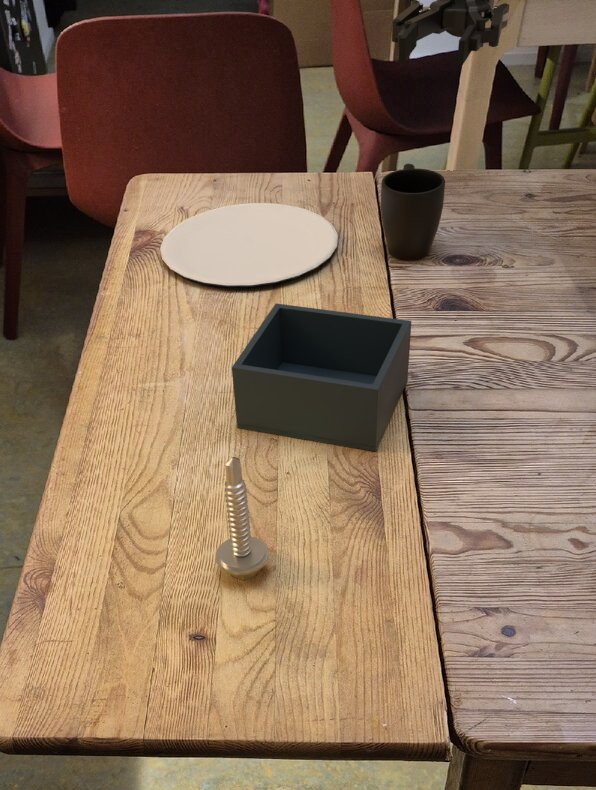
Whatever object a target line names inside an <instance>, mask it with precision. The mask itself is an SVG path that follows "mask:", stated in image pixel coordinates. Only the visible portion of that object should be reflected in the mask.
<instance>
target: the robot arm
mask: <svg viewBox="0 0 596 790" xmlns="http://www.w3.org/2000/svg"><path fill="white" fill-rule="evenodd" d="M500 1H501V0H434V1H432V2H431V3H430V4H429V6H424V3H422V2H420V1H419V0H411V1H410V5H409V6H408V7H407V8H406V9H404V10H403V11H402V12H401V13H399V14H398V15H397V16H396V17H395V18H393V19H392V23H391V24H392V25H391V42H393V43H397V48H398V62H399V63H406V61H407V59H408V58H409V57H410V55H411V54H413V51H414V50H415V49H416V47H417V45H418V43H417V42H418V41H420V40H422V39H425V38H426V37H428V36H430V35H432V34H435V35H436V34H437V35H441V34H442V33H444V32H446V33H447V34H449V35H451V36H452V37H456V38H459V40H458V47H457V48H458V49H457V57H456V58H457V60H456V65H458V66H463V65H464V64H465V62H466V61H467V59H468V58H469V56H470V55H471V53H472V52H478V51H480V49H481V48H483V47H484V44H488V47H491V48H496V47H498V46H499V43H500V39H501V35H502V29H504V28H506V27H507V26H508V23H509V11H510V4H509V3H508V2H507V3H506V2H504V3H501V4H499V5H498V3H499V2H500ZM488 22H490V27H486V23H488Z"/></svg>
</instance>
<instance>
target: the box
mask: <svg viewBox="0 0 596 790" xmlns="http://www.w3.org/2000/svg"><path fill="white" fill-rule="evenodd" d="M411 335H412V320H407V319H399V318H392V317H391V318H390V317H385V316H384V317H383V316H377V315H370V314H369V315H367V314H359V313H353V312H347V311H346V312H344V311H338V310H330V309H323V308H314V307H307V306H298V305H291V304H284V303H283V304H282V303H275V304H274V305H273V307H272V308H271V309H270V311H269V312H268V314H267V315H266V316H265V318H264V320H263V321H262V322H261V324H260V325H259V327H258V329H257V330H256V331H255V333H254V334H253V335H252V337H251V338H250V340H249V341H248V343H247V345H246V346H245V347H244V349H243V350H242V352H241V353H240V354H239V356H238V358H237V359H236V360H235V361H234V364H232V366H231V375H232V387H233V397H234V399H233V400H234V410H235V418H236V427H237V429H242V430H246V431H247V430H248V431H254V432H259V433H265V434H271V435H277V436H281V437H283V436H284V437H287V438H293V439H294V438H295V439H301V440H306V441H310V442H311V441H312V442H318V443H323V444H328V445H329V444H330V445H335V446H340V447H345V448H346V447H347V448H353V449H359V450H364V451H370V452H377V450H378V447H379V445H380V443H381V441H382V439H383V436H384V434H385V432H386V430H387V427H388V425H389V423H390V421H391V419H392V417H393V415H394V412H395V410H396V408H397V406H398V403H399V402H400V399H401V397H402V394H403V392H404V390H405V388H406V386H407V384H408V382H409V381H408V380H409V364H410V350H411V349H410V348H411Z"/></svg>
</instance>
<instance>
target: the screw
mask: <svg viewBox="0 0 596 790" xmlns="http://www.w3.org/2000/svg"><path fill="white" fill-rule="evenodd" d="M225 476H226V481H225V482H224V493H225V494H224V496H225V503H226V509H227V510H226V514H227V519H228V520H227V523H228V529H229V530H228V531H229V533H228V534H229V538H228V539H227V540H224V541H223V542H222V543H221V544H220V545H218V547H217V548H216V552H215V561H216V564H217V566H218V568H220V569H221V570H222V571H223V572H225V573H226V574H230V577H232V578H236V579H238V580H241V581H246V580H248V579H251V578H252V577H255V576H257V575H258V571H260V570H261V569H263V568H264V567H265V566H266V565H267V563H268V561H269V558H270V552H269V547H268V546H267V544H266V543H265V542H264V541H263V540H261V539H259V538H257V537H254V536H252V535H251V534H252V533H251V526H250V523H251V522H250V512H249V505H248V504H249V501H248V494H247V492H248V491H247V490H248V489H247V484H246V482H245V479H243V473H242V463H241V459H240V458H239V457H237V456H232V457H231V458H229V459H227V460H226V462H225Z"/></svg>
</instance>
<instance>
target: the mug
mask: <svg viewBox="0 0 596 790" xmlns="http://www.w3.org/2000/svg"><path fill="white" fill-rule="evenodd" d="M445 189H446V179H445V177H444V176H443V175H442V174H440V173H439V172H437V171H434V170H431V169H427V168H416V167H415V165H414V164H413V163H405V164H404V165H403V169H398V170H394V171H392V172H389V173H387V174H386V175H385V176H384V177H382V179H381V183H380V216H381V223H382V229H383V232H384V238H385V240H386V244H387V250H388V253H389V255H390V256H391V257H393V258H395V259H397V260H401V261H417V260H420V259H423V258H425V257H427V256H428V255H429V254H430V252H431V249H432V245H433V242H434V240H435V238H436V235H437V232H438V229H439V226H440V223H441V218H442V213H443V209H444V201H445V191H446V190H445Z"/></svg>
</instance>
